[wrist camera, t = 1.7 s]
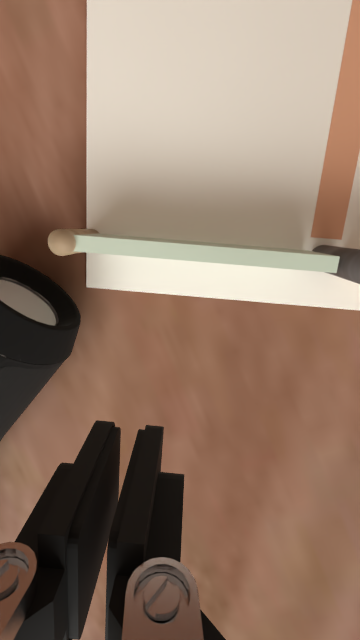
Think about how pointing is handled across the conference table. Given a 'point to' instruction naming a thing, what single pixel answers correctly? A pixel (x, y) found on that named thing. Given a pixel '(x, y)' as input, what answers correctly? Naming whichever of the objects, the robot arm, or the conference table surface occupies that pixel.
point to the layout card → (224, 141)
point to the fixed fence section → (344, 261)
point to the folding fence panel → (188, 250)
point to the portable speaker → (30, 335)
